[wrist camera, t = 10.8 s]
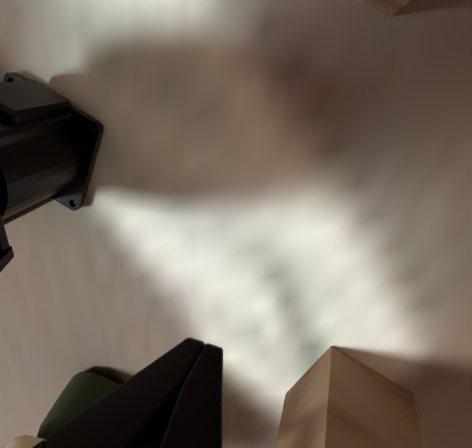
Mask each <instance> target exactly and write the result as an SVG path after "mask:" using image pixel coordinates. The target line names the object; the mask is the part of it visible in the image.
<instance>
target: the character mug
mask: <svg viewBox="0 0 472 448" xmlns="http://www.w3.org/2000/svg"><path fill="white" fill-rule="evenodd" d="M119 386H120V384H118V383H116V382H114V381H112V380H110V379H108V378H105V377H102V376H100V375H97V374H95V373H89V372H80V373H78V374H76V375H74V376H73V378H72V379H71V381H70V382H69V383H68V385H67V386H66V388H65V389H64V390H63V392H62V393H61V395H60V396H59V398H58V399H57V401H56V402H55V404H54V405H53V407H52V409H51V410H50V412H49V413H48V415H47V416H46V418H45V419H44V421H43V422H42V424H41V426H40V429H39V432H38V435H37V437H33V436H28V435H25V436H20V437H16V438H15V439H14V440H13V441H12V442H11V443H10V444H9V445H8V446H7V447H6V448H32V447H34V446H35V445H36V444H38V443H39V442H41V441H42V440H45V441H46V439H47V437H48V436H49V435H51V434H52V433H54V432H55V431H57V430H58V429H59V428H61V427H62V426H64V425H65V424H66V423H68V422H69V421H71V420H72V419H73V418H75V417H76V416H78V415H79V414H81V413H82V412H83V411H85V410H86V409H88V408H89V407H90V406H92V405H93V404H95V403H96V402H97V401H99V400H100V399H102V398H103V397H104V396H106V395H107V394H109V393H110V392H112V391H113V390H114V389H116V388H117V387H119Z"/></svg>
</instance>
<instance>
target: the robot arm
mask: <svg viewBox="0 0 472 448" xmlns="http://www.w3.org/2000/svg"><path fill="white" fill-rule="evenodd" d="M13 79H14V82H13ZM92 125H93V126H94V128H95V132H94V131H93V129H92ZM102 133H103V127H102V125H101V123H100V122H99V121H98V120H96V119H95V118H93V117H91V116H90V115H88V114H86V113H84V112H83V111H81V110H79V109H78V108H76V107H74V106H72V104H71V103H70V101H69V100H67V99H66V98H64V97H62V96H61V95H59V94H57V93H55V92H54V91H52V90H50V89H49V88H47V87H45V86H44V85H42V84H40V83H38V82H37V81H35V80H28V79H26V78H25V77H23V76H21V75H20V74H18V73H15V72H13V73H6V74H5V76H4V82H3V83H0V272H1V271H2V270H3V269H4V267H5V266H6V265H7V264H8V263H9V262H10V261H11V260H12V258H13V257H14V253H13V250H12V247H11V246H9V243H8V239H7V235H6V231H5V227H4V225H5V224H7V223H9V222H11V221H13V220H15V219H17V218H19V217H21V216H23V215H25V214H27V213H29V212H31V211H33V210H35V209H37V208H39V207H41V206H42V205H44V204H46V203H48V202H50V201H52V200H56V201H58V202H59V203H61V204H63V205H64V206H66V207H68V208H69V209H71V210H78V209H79V208H81V207H82V206H83V203H84V199H85V195H86V192H87V188H88V184H89V181H90V177H91V173H92V170H93V166H94V162H95V159H96V155H97V151H98V148H99V144H100V141H101V137H102ZM73 201H74V202H75V203H76V204H75V203H74V202H73ZM222 421H223V349H222V348H221V347H218V346H215V345H212V344H209V343H207V344H206V345H205V343H204V342H203V341H200V340H197V339H194V338H191V337H189V338H186V339H185V340H183V341H182V342H181V343H179V344H178V345H176V346H175V347H174V348H172V349H171V350H169V351H168V352H167V353H165V354H164V355H162V356H161V357H160V358H158V359H157V360H155V361H154V362H152V363H151V364H150V365H148V366H147V367H145V368H144V369H143V370H141V371H140V372H138V373H137V374H136V375H134V376H133V377H131V378H130V379H128V380H127V381H126V382H124V383H123V384H121V385H120V386H119V387H117V388H116V389H114V390H113V391H112V392H110V393H109V394H107V395H106V396H104V397H103V398H102V399H100V400H99V401H97V402H96V403H95V404H93V405H92V406H90V407H89V408H88V409H86V410H85V411H83V412H82V413H81V414H79V415H78V416H76V417H75V418H73V419H72V420H71V421H69V422H68V423H66V424H65V425H64V426H62V427H61V428H59V429H58V430H57V431H55V432H54V433H52V434H51V435H49V436H48V437H47V439H46V441H45V440H42V441H41V442H39V443H38V444H36V445H35V446H34V447H32V448H222Z"/></svg>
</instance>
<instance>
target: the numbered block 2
mask: <svg viewBox="0 0 472 448" xmlns="http://www.w3.org/2000/svg"><path fill="white" fill-rule="evenodd" d="M357 1H359V2H361V3H362V4H364V3H365V2H366V3H368V4H370V5H371V6H373V7H375V8H377V9H379V10H380V11H382V12H384V13H386V14H388V15H389V16H392V15H394V14H395V13H396V12H397V11H399V10H400V9H401V8H402V7H403V6H405V5H406V4H407V3H408V2H410V1H411V0H357Z"/></svg>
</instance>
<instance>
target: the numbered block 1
mask: <svg viewBox="0 0 472 448" xmlns="http://www.w3.org/2000/svg"><path fill="white" fill-rule="evenodd" d="M276 448H422V444H421V438H420V433H419V427H418V421H417V415H416V410H415V404H414V398H413V394H412V393H411V392H409V391H407V390H406V389H404V388H402V387H400V386H399V385H397V384H395V383H394V382H392V381H390V380H389V379H387V378H385V377H384V376H382V375H380V374H379V373H377V372H375V371H374V370H372V369H370V368H369V367H367V366H365V365H363V364H362V363H360V362H358V361H357V360H355V359H353V358H352V357H350V356H348V355H347V354H345V353H343V352H342V351H340V350H338V349H337V348H335V347H333V346H331V347H330V348H329V349H328V350H327V351H326V352H325V353H324V354H323V355H322V356H321V357H320V358H319V359H318V360H317V361H316V363H315V364H314V365H313V366H312V367H311V368H310V369H309V370H308V371H307V372H306V373H305V374H304V375H303V376H302V377H301V378H300V379H299V380H298V381H297V382H296V383H295V385H294V386H293V387H292V388H291V389H290V390H289V391H288V392H287V393H286V396H285V401H284V406H283V411H282V416H281V422H280V427H279V432H278V437H277V442H276Z"/></svg>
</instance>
